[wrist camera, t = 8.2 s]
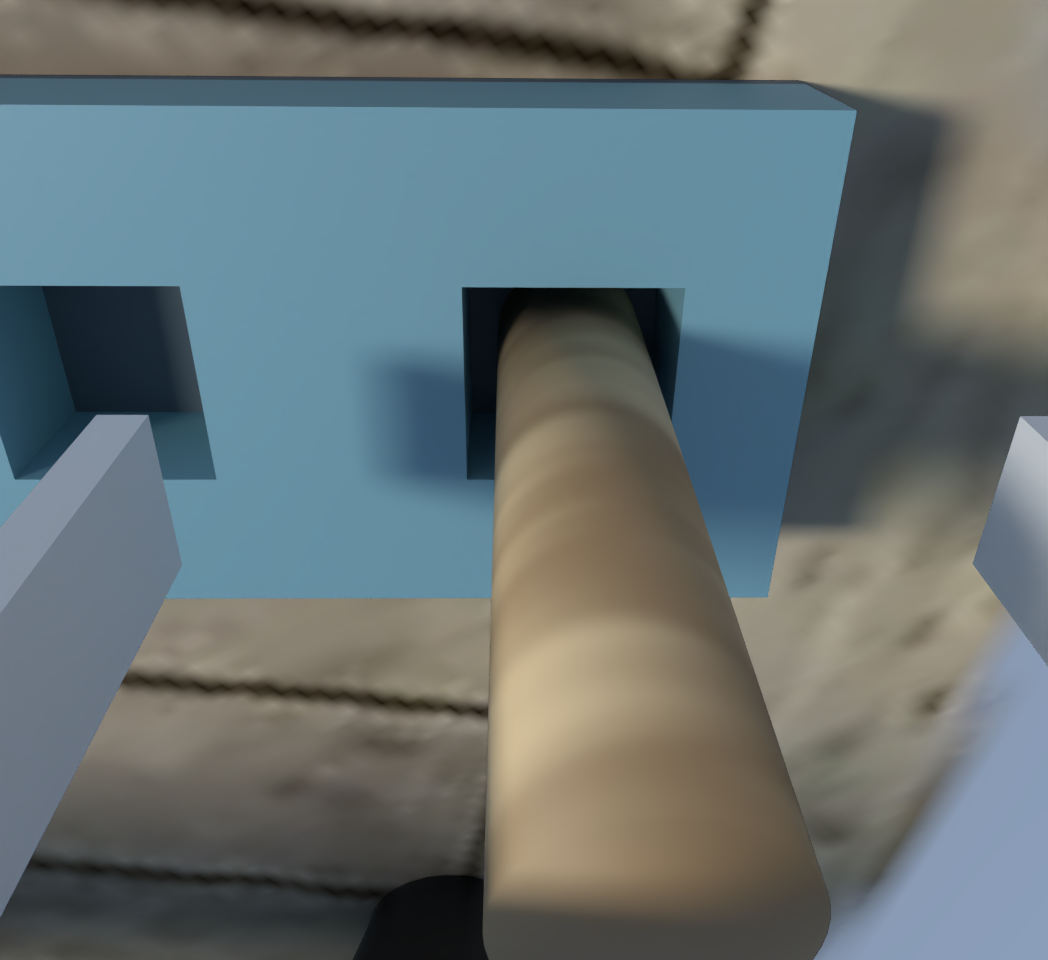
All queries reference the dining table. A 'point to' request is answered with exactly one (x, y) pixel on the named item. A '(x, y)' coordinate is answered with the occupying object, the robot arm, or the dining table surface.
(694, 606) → the dowel
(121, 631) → the robot arm
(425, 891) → the mug
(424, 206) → the bore slab
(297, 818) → the dining table surface
